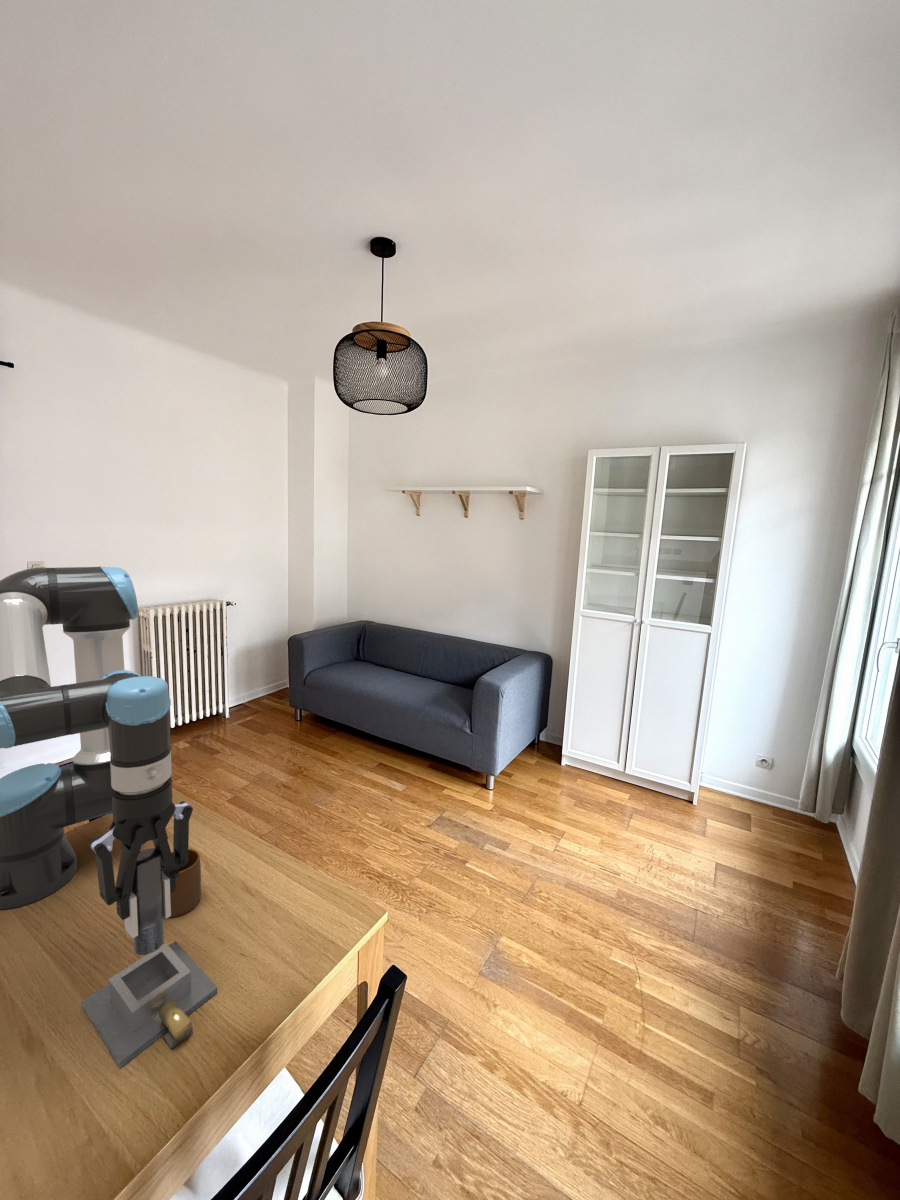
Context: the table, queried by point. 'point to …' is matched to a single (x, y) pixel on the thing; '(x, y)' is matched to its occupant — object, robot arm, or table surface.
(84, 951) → the table surface
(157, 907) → the dark cylinder
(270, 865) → the table surface
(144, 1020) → the open box on baseplate
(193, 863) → the mug
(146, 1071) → the table surface
